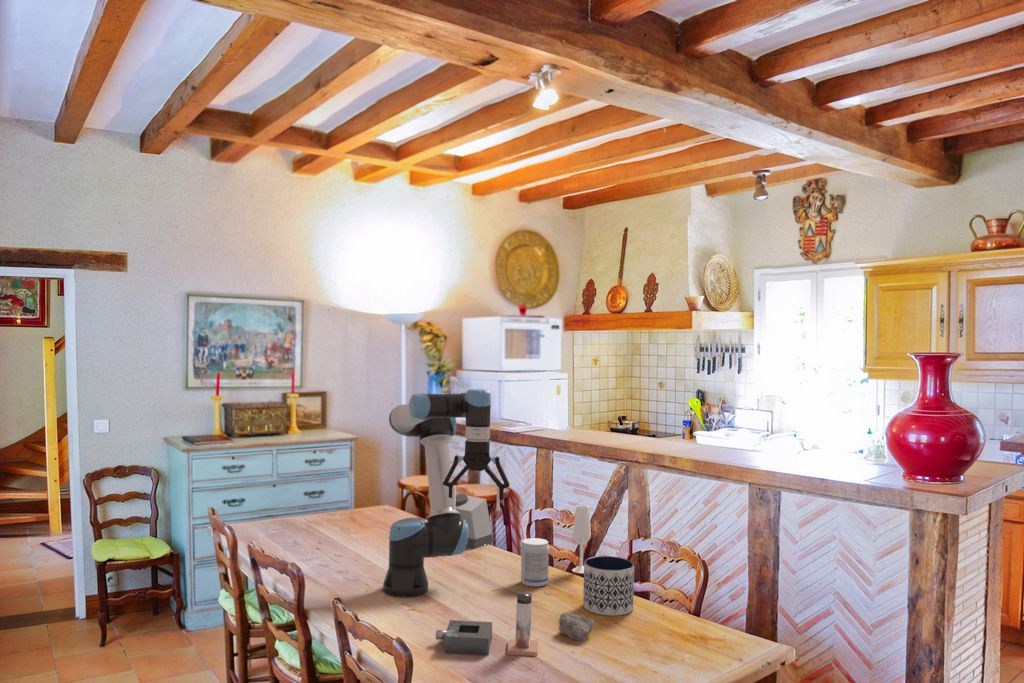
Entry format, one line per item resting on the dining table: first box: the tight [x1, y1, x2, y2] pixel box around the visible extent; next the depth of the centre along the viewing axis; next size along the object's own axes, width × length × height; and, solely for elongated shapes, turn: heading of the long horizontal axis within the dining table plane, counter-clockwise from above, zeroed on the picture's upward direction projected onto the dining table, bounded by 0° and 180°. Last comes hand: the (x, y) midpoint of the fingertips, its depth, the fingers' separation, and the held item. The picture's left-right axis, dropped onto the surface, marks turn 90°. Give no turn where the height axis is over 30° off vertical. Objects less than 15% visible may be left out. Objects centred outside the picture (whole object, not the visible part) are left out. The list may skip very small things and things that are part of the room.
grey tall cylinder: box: [515, 591, 533, 648], centre depth 209 cm, size 4×4×14 cm
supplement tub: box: [520, 537, 550, 588], centre depth 266 cm, size 10×10×15 cm
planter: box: [582, 555, 635, 617], centre depth 243 cm, size 16×16×14 cm
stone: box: [558, 612, 595, 642], centre depth 219 cm, size 10×8×6 cm
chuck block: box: [435, 619, 493, 656], centre depth 210 cm, size 15×12×4 cm
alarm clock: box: [455, 493, 494, 550], centre depth 318 cm, size 20×16×20 cm
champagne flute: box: [571, 504, 592, 574], centre depth 282 cm, size 7×7×24 cm
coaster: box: [506, 638, 539, 657], centre depth 208 cm, size 8×8×1 cm
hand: (475, 509), depth 232 cm, fingers open, 13 cm apart
